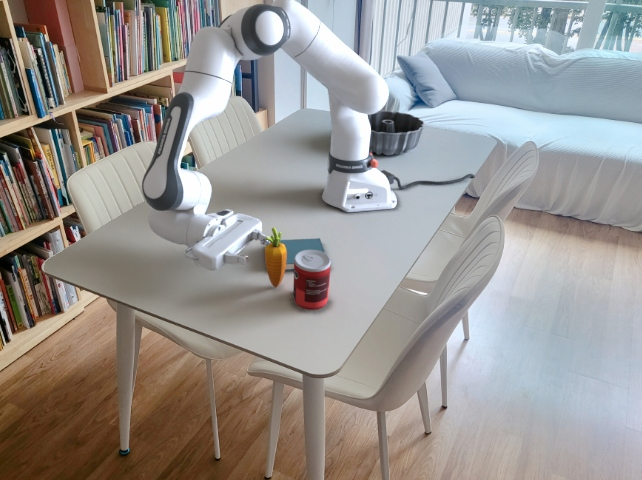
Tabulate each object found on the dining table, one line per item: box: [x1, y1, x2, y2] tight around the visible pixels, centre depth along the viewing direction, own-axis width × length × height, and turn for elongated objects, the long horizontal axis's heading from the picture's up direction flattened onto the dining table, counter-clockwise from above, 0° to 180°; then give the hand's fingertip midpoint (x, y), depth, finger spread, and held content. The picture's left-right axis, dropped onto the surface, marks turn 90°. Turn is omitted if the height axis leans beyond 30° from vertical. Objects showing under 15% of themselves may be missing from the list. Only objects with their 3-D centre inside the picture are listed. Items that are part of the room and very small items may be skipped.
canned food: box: [292, 250, 332, 311], centre depth 114 cm, size 8×8×11 cm
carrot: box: [264, 227, 287, 288], centre depth 116 cm, size 5×5×15 cm
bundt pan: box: [368, 110, 425, 156], centre depth 192 cm, size 26×26×10 cm
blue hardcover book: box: [269, 237, 326, 272], centre depth 130 cm, size 14×11×2 cm
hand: (257, 250), depth 118 cm, fingers open, 8 cm apart
